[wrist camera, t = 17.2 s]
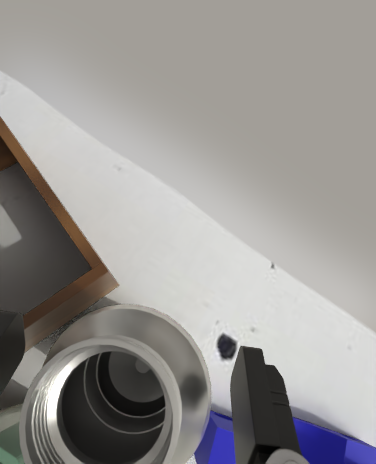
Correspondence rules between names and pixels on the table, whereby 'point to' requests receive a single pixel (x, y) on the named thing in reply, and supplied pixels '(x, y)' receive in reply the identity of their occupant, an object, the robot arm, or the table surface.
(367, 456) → the blue cradle bracket
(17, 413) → the cup
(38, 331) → the open box
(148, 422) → the silver metal bottle
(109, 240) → the table surface
